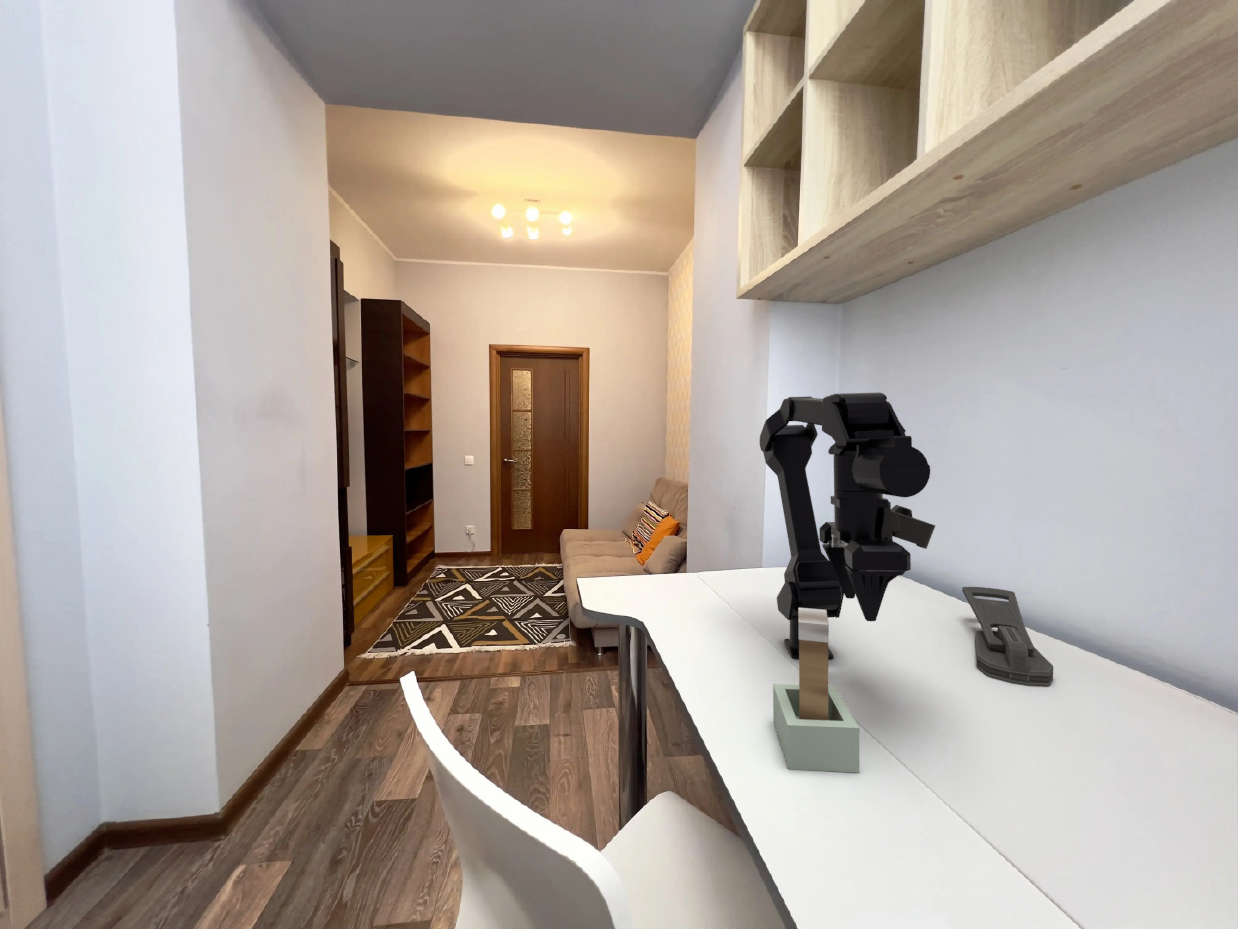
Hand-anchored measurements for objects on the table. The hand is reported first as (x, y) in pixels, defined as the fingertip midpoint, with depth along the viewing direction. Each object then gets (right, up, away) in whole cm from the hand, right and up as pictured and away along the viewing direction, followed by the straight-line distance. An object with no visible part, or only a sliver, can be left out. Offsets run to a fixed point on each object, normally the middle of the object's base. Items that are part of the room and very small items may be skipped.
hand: (859, 608), depth 66 cm
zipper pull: (+30, -11, +16) cm, 36 cm away
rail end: (-9, -12, -7) cm, 17 cm away
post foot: (-9, -14, -7) cm, 18 cm away
